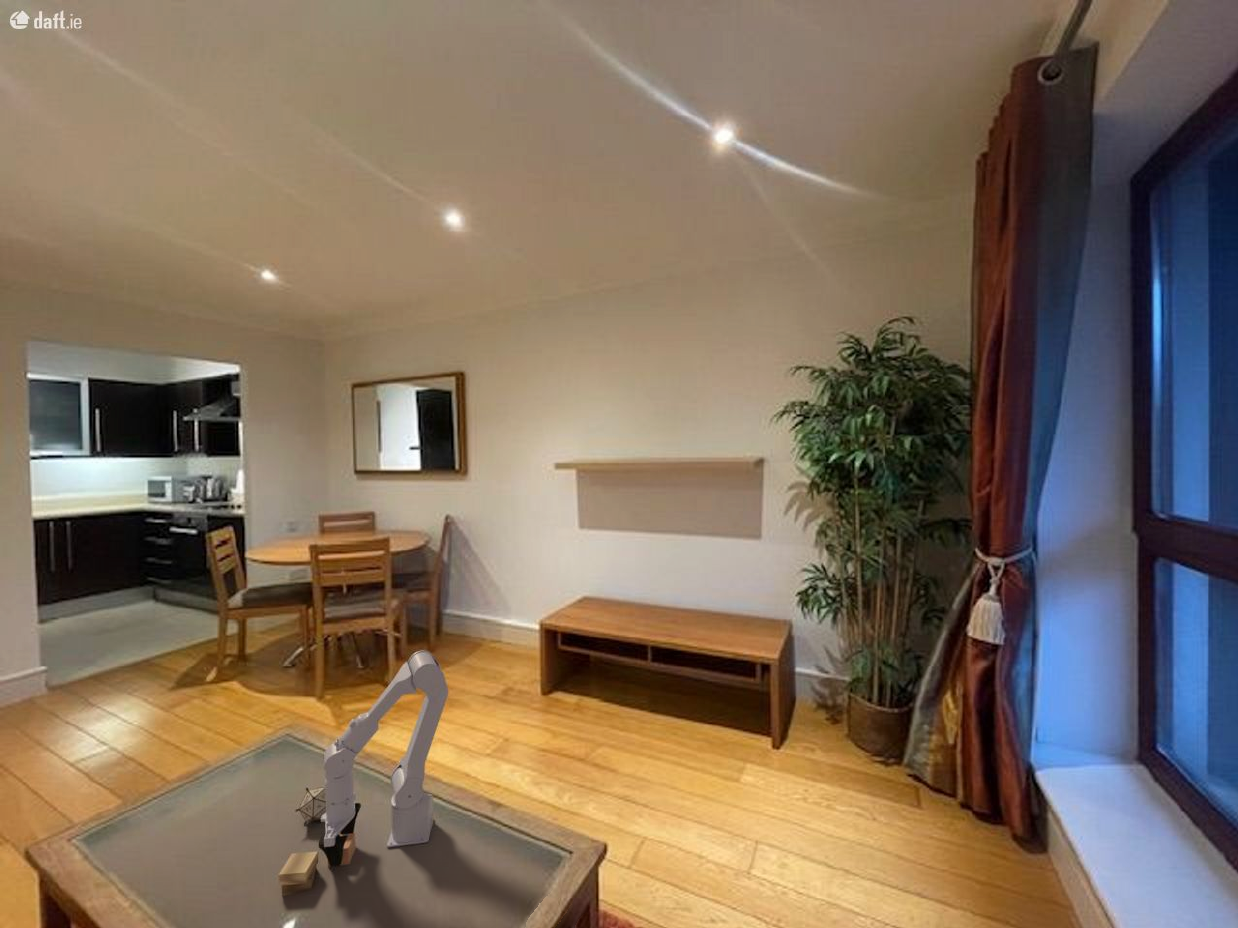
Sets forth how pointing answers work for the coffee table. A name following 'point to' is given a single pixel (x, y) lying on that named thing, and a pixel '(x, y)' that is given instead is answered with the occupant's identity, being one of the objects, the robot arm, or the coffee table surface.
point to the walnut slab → (298, 886)
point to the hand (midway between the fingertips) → (341, 851)
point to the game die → (313, 804)
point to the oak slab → (298, 868)
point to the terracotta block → (348, 849)
